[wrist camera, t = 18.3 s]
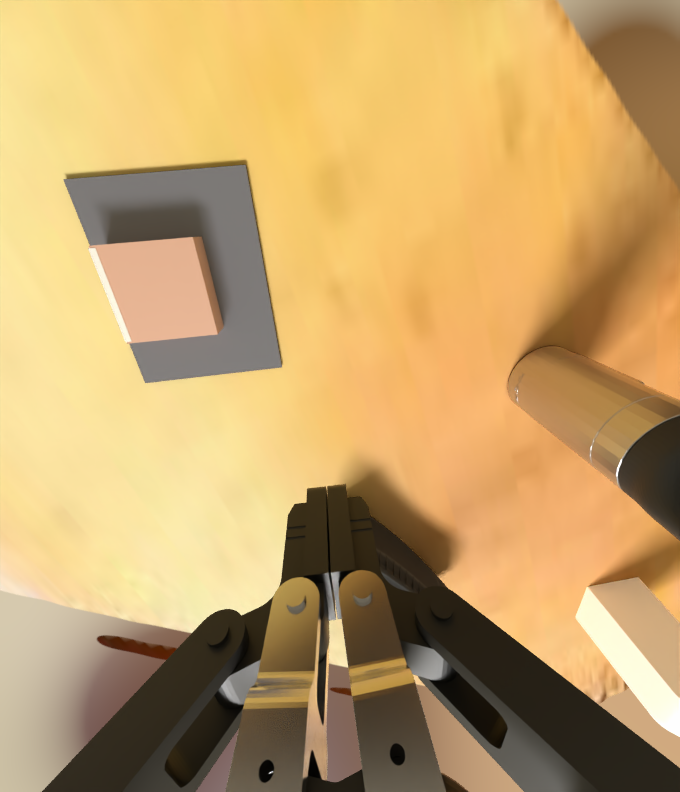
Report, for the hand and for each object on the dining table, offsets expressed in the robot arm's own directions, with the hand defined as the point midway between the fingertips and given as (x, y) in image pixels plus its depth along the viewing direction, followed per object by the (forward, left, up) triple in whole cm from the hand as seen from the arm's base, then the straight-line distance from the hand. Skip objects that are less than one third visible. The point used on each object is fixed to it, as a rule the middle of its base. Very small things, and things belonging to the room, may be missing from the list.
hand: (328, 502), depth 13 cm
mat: (+12, -5, -28) cm, 31 cm away
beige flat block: (+10, -5, -26) cm, 28 cm away
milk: (-58, +69, -28) cm, 94 cm away
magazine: (-9, +40, -28) cm, 50 cm away
